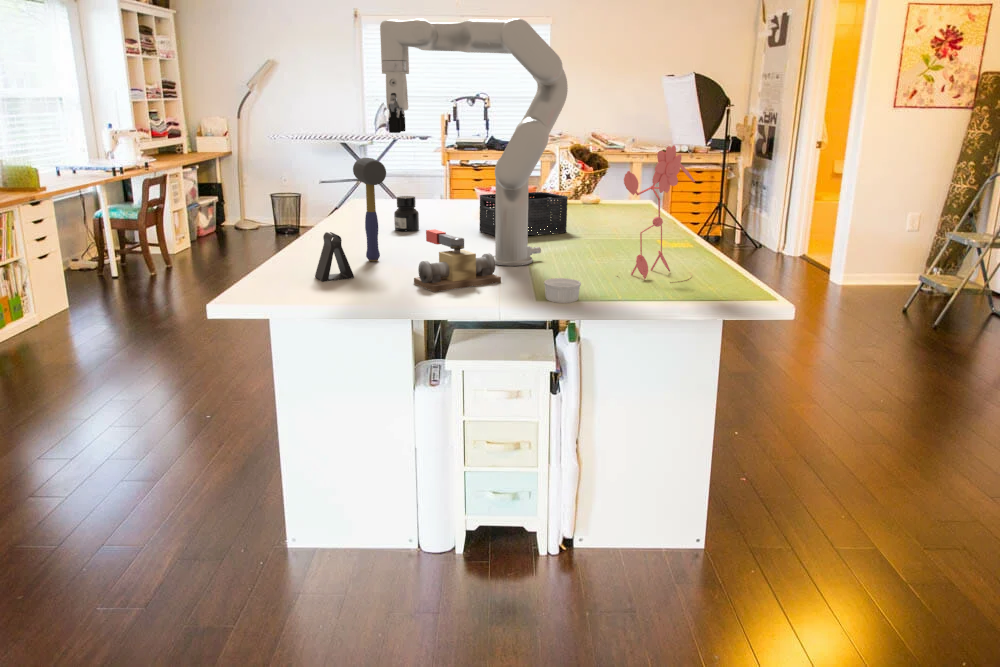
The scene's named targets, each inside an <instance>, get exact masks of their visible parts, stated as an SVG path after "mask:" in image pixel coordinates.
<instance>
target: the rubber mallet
mask: <svg viewBox="0 0 1000 667" xmlns="http://www.w3.org/2000/svg"><path fill="white" fill-rule="evenodd" d="M352 172H353V175H354V177H355V178H356V179H357V180H358V181H359V182H362V183H363V184H365V198H366V201H365V202H366V212H365V216H364V218H365V222H364V223H365V224H364V226H365V227H364V229H365V230H364V231H365V235H366V253H365V254H366V256H365V257H366V258H367V260H368V261H369V262H377V261H379V259H380V258H381V256H380V255H381V253H380V250H379V220H378V219H379V218H378V213H377V210H376V193H375V190H376V189H375V186H377V185H380V184H382V183H383V182H384V180H385V179H386V177H387V169H386V167H385V165H384V164H383V163H382V162H381V161H379V160H377V159H376V158H372V157H362V158H361V157H360V158H359V159H357V160H356V161H355V162H354V164H353V167H352Z"/></svg>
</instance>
